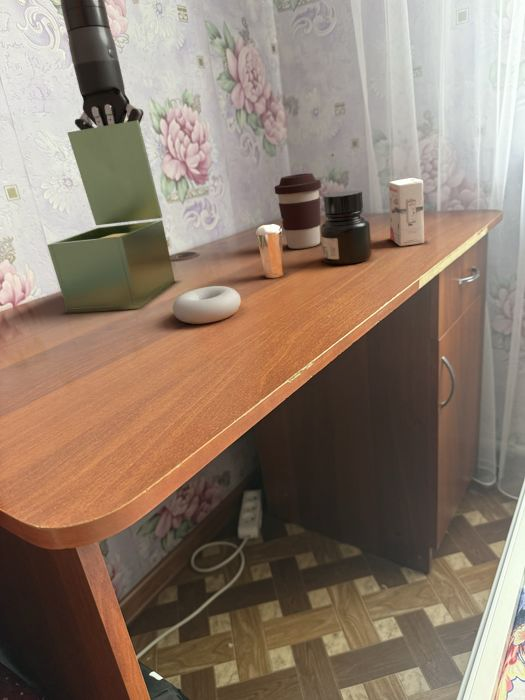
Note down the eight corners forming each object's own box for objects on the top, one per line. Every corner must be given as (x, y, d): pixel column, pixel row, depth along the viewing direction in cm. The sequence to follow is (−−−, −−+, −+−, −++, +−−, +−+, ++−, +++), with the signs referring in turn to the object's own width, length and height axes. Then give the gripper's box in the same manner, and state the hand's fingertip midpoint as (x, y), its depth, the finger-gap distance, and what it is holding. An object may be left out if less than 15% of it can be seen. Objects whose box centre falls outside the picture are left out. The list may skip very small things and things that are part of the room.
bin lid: (136, 120, 83) (138, 120, 84) (67, 132, 87) (69, 132, 88) (161, 218, 91) (162, 217, 91) (95, 225, 94) (97, 224, 95)
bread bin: (138, 308, 82) (121, 237, 77) (67, 313, 86) (47, 244, 81) (175, 282, 96) (162, 220, 91) (112, 287, 99) (97, 227, 95)
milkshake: (283, 279, 87) (276, 221, 83) (257, 279, 89) (249, 222, 86) (295, 272, 90) (289, 216, 86) (270, 272, 93) (263, 217, 89)
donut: (217, 330, 67) (255, 305, 75) (212, 306, 66) (251, 283, 73) (161, 326, 72) (202, 302, 80) (156, 303, 71) (198, 281, 79)
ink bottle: (323, 256, 99) (318, 194, 94) (368, 251, 97) (365, 187, 93) (323, 268, 90) (317, 200, 85) (373, 263, 88) (370, 193, 84)
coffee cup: (335, 241, 111) (329, 170, 105) (305, 252, 105) (297, 177, 99) (302, 239, 118) (295, 173, 112) (272, 249, 112) (263, 180, 106)
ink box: (389, 239, 105) (387, 180, 101) (413, 236, 105) (411, 177, 101) (399, 247, 97) (397, 184, 93) (425, 243, 97) (424, 180, 93)
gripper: (141, 58, 86) (162, 164, 93) (75, 71, 90) (99, 173, 96) (120, 52, 79) (144, 167, 86) (49, 67, 83) (78, 176, 89)
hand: (120, 170), depth 91 cm, fingers closed
